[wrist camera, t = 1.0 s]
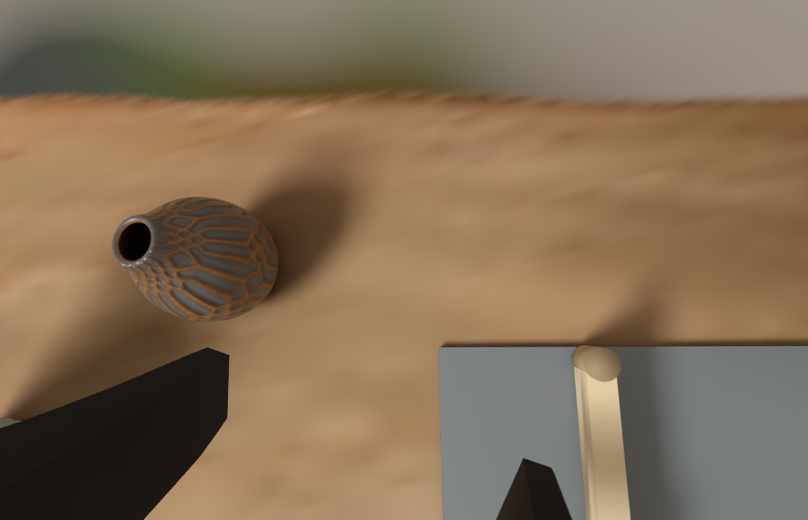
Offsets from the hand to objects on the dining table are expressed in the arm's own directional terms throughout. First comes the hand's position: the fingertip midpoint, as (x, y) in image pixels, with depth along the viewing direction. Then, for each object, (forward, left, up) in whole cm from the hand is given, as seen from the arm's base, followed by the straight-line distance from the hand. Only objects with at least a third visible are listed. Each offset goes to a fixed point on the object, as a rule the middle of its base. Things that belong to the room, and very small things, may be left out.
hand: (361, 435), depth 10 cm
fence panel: (-3, -7, -13) cm, 15 cm away
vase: (+7, +13, -14) cm, 20 cm away
